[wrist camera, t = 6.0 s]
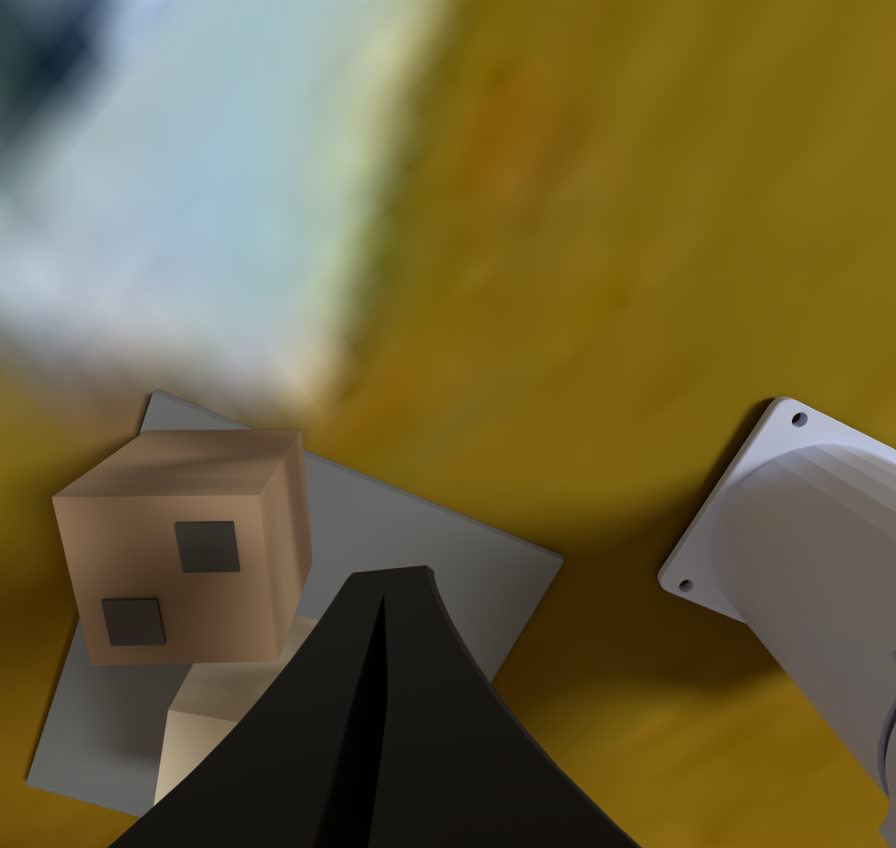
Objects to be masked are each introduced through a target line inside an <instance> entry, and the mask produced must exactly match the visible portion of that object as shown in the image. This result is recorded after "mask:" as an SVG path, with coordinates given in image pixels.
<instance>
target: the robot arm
mask: <svg viewBox="0 0 896 848" xmlns="http://www.w3.org/2000/svg"><path fill="white" fill-rule="evenodd" d="M797 413H800V415H801V416H800V418H799V420H798V421H797V422H796V423H793V424H792V419H793V416H794V415H796V414H797ZM684 580H688V583H687V584H685V585H683V586H679V585H680V583H681V582H682V581H684ZM658 581H659V583H660V585H661V586H662V588H663V589H664V590H666V591H668V592H670V593H672V594H675V595H677V596H680V597H682V598H685V599H687V600H689V601H692V602H694V603H697V604H699V605H702V606H704V607H706V608H709V609H711V610H714V611H716V612H719V613H721V614H723V615H726V616H728V617H731V618H733V619H735V620H738V621H740V622H743V623H745V624H747V625H748V626H749V627H750V628H751V630H752V631H753V632H754V633H755V635H756V636H757V637H758V638H759V640H760V641H761V642H762V643H763V645H764V646H765V647H766V648H767V650H768V651H769V652H770V653H771V654H772V656H773V657H774V658H775V659H776V661H777V662H778V663H779V664H780V666H781V667H782V668H783V669H784V671H785V672H786V673H787V674H788V676H789V677H790V678H791V679H792V680H793V682H794V683H795V684H796V685H797V687H798V688H799V689H800V690H801V692H802V693H803V694H804V695H805V697H806V698H807V699H808V700H809V702H810V703H811V704H812V705H813V706H814V708H815V709H816V710H817V711H818V713H819V714H820V715H821V716H822V718H823V719H824V720H825V721H826V723H827V724H828V725H829V726H830V728H831V729H832V730H833V731H834V732H835V734H836V735H837V736H838V737H839V739H840V740H841V741H842V742H843V744H844V745H845V746H846V747H847V749H848V750H849V751H850V752H851V754H852V755H853V756H854V757H855V758H856V760H857V761H858V762H859V763H860V765H861V766H862V767H863V768H864V770H865V771H866V772H867V773H868V775H869V776H870V777H871V778H872V780H873V781H874V782H875V783H876V784H877V786H878V787H879V788H880V789H881V791H882V792H883V793H884V794H885V796H886V797H887V798H888V799H889V801H890V806H889V810H888V813H887V816H886V818H885V820H884V822H883V823H882V825H881V827H880V829H879V833H880V834H881V835H882V837H883V838H884V839H885V841H886V842H887V843H888V845H889V846H890V847H891V848H896V450H895V449H893V448H891V447H889V446H887V445H885V444H883V443H881V442H879V441H877V440H875V439H873V438H871V437H869V436H867V435H865V434H863V433H861V432H859V431H857V430H855V429H853V428H851V427H849V426H847V425H845V424H843V423H841V422H838V421H836V420H834V419H832V418H830V417H828V416H826V415H824V414H822V413H820V412H818V411H816V410H814V409H812V408H810V407H808V406H806V405H804V404H802V403H800V402H798V401H796V400H794V399H792V398H789V397H785V396H784V397H779V398H777V399H775V400H773V401H772V402H771V404H770V405H769V406H768V408H767V409H766V411H765V412H764V414H763V415H762V417H761V418H760V420H759V421H758V423H757V424H756V426H755V427H754V429H753V430H752V432H751V433H750V435H749V436H748V438H747V439H746V441H745V442H744V444H743V445H742V447H741V448H740V450H739V451H738V453H737V454H736V456H735V457H734V459H733V460H732V462H731V463H730V465H729V467H728V468H727V470H726V471H725V473H724V474H723V476H722V477H721V479H720V480H719V482H718V483H717V485H716V486H715V488H714V489H713V491H712V492H711V494H710V495H709V497H708V498H707V500H706V501H705V503H704V504H703V506H702V507H701V509H700V510H699V512H698V513H697V515H696V516H695V518H694V519H693V521H692V522H691V524H690V525H689V527H688V528H687V530H686V532H685V533H684V535H683V536H682V538H681V539H680V541H679V542H678V544H677V545H676V547H675V548H674V550H673V551H672V553H671V554H670V556H669V557H668V559H667V560H666V562H665V563H664V565H663V566H662V568H661V569H660V571H659V573H658ZM108 848H642V847H641V846H639V845H638V844H637V843H636V842H635V841H634V840H633V839H632V838H631V837H629V836H628V835H627V834H626V833H625V832H624V831H623V830H622V829H620V828H619V827H618V826H617V825H616V824H615V823H614V822H613V821H612V820H611V819H610V818H609V817H608V816H607V815H606V814H605V813H604V812H603V811H602V810H601V809H600V808H599V807H598V806H597V805H596V804H595V803H594V802H593V801H592V800H591V799H590V798H589V797H588V796H587V795H586V794H585V793H584V792H583V791H582V790H581V789H580V788H579V787H578V786H577V785H576V784H575V783H574V782H573V781H572V780H571V779H570V778H569V777H568V776H567V775H566V774H565V773H564V772H563V771H562V770H561V769H560V768H559V767H558V766H557V765H556V763H555V762H554V761H553V760H552V759H551V758H550V757H549V756H548V754H547V753H546V752H545V751H544V750H543V749H542V748H541V746H540V745H539V744H538V743H537V742H536V741H535V740H534V739H533V737H532V736H531V735H530V734H529V733H528V731H527V730H526V729H525V728H524V727H523V725H522V724H521V723H520V722H519V720H518V719H517V718H516V717H515V716H514V714H513V713H512V712H511V710H510V709H509V708H508V707H507V705H506V704H505V703H504V701H503V700H502V699H501V697H500V696H499V695H498V693H497V692H496V690H495V689H494V688H493V686H492V685H491V683H490V682H489V680H488V679H487V677H486V676H485V675H484V673H483V672H482V670H481V669H480V667H479V666H478V664H477V663H476V661H475V659H474V658H473V656H472V655H471V653H470V652H469V650H468V648H467V646H466V645H465V643H464V641H463V639H462V638H461V636H460V634H459V632H458V631H457V629H456V627H455V625H454V624H453V622H452V620H451V618H450V616H449V614H448V612H447V609H446V607H445V605H444V603H443V601H442V598H441V596H440V593H439V591H438V588H437V585H436V581H435V577H434V570H432V569H431V568H430V567H428V566H427V565H422V566H412V567H402V568H392V569H383V570H373V571H363V572H354V573H352V574H351V575H350V576H349V577H348V578H347V579H346V581H345V582H344V584H343V585H342V587H341V589H340V590H339V592H338V593H337V595H336V596H335V598H334V599H333V601H332V602H331V604H330V605H329V607H328V608H327V610H326V611H325V613H324V614H323V616H322V617H321V619H320V620H319V621H318V623H317V624H316V626H315V627H314V629H313V630H312V631H311V633H310V634H309V635H308V637H307V638H306V640H305V641H304V642H303V644H302V645H301V646H300V648H299V649H298V650H297V652H296V653H295V654H294V656H293V657H292V659H291V660H290V661H289V662H288V664H287V665H286V666H285V668H284V669H283V670H282V671H281V673H280V674H279V675H278V676H277V677H276V679H275V680H274V681H273V682H272V683H271V685H270V686H269V687H268V688H267V690H266V691H265V692H264V693H263V694H262V696H261V697H260V698H259V699H258V701H257V702H256V703H255V704H254V705H253V707H252V708H251V709H250V710H249V711H248V712H247V713H246V715H245V716H244V717H243V718H242V719H241V720H240V721H239V722H238V724H237V725H236V726H235V727H234V728H233V729H232V730H231V731H230V732H229V733H228V735H227V736H226V737H225V738H224V739H223V740H222V741H221V742H220V743H219V744H218V745H217V746H216V747H215V748H214V749H213V750H212V751H211V752H210V753H209V754H208V755H207V757H206V758H205V759H204V760H203V761H202V762H201V763H200V764H199V765H198V766H197V767H196V768H195V769H194V770H193V771H192V772H191V773H190V774H189V775H188V776H186V777H185V778H184V779H183V780H182V781H181V782H180V783H179V784H178V785H177V786H176V787H174V788H173V789H172V790H171V791H170V792H169V793H168V794H167V795H166V796H164V797H163V798H162V799H161V800H160V801H159V802H158V803H157V804H156V805H155V806H153V807H152V808H151V809H150V810H149V811H148V812H147V813H146V814H145V815H143V816H142V817H141V818H140V819H139V820H138V821H137V822H136V823H135V824H134V825H132V826H131V827H130V828H129V829H128V830H127V831H126V832H125V833H124V834H123V835H121V836H120V837H119V838H118V839H117V840H116V841H115V842H113V843H112V844H111V845H110V846H109V847H108Z"/></svg>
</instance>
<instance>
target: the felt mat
mask: <svg viewBox="0 0 896 848" xmlns="http://www.w3.org/2000/svg"><path fill="white" fill-rule="evenodd" d="M231 429H253V428H250V427H248V426H245V425H243V424H241V423H238V422H236V421H233V420H231V419H228V418H226V417H223V416H221V415H219V414H216V413H214V412H211V411H209V410H206V409H204V408H202V407H199V406H197V405H194V404H192V403H189V402H187V401H184V400H182V399H180V398H177V397H175V396H172V395H170V394H167V393H165V392H162V391H160V390H157V391H155V392H154V393H153V394H152V397H151V400H150V403H149V406H148V409H147V412H146V415H145V418H144V421H143V425H142V428H141V431H140V434H139V435H141V434H142V433H143V432H145V431H146V430H231ZM304 462H305V474H306V486H307V498H308V511H309V523H310V535H311V547H312V560H313V563H312V566H311V569H310V572H309V574H308V577H307V580H306V583H305V586H304V589H303V591H302V594H301V597H300V600H299V603H298V606H297V609H296V611H295V614H294V615H297V616H302V617H307V618H312V619H316V620H320V619H321V617H322V616H323V614H324V613H325V611H326V610H327V608H328V607H329V605H330V604H331V602H332V601H333V599H334V598H335V596H336V595H337V593H338V592H339V590H340V589H341V587H342V585H343V584H344V582H345V581H346V579H347V578H348V577H349V576H350V575H351V574H352V573H354V572H363V571H373V570H383V569H392V568H402V567H412V566H422V565H427V566H428V567H430V568H431V569H432V570H434V577H435V581H436V585H437V588H438V591H439V593H440V596H441V598H442V601H443V603H444V605H445V607H446V609H447V612H448V614H449V616H450V618H451V620H452V622H453V624H454V625H455V627H456V629H457V631H458V632H459V634H460V636H461V638H462V639H463V641H464V643H465V645H466V646H467V648H468V650H469V652H470V653H471V655H472V656H473V658H474V659H475V661H476V663H477V664H478V666H479V667H480V669H481V670H482V672H483V673H484V675H485V676H486V677H487V679H488V680H489V682H490V683H491V682H492V680H493V678H494V677H495V675H496V673H497V672H498V670H499V668H500V667H501V665H502V663H503V662H504V660H505V658H506V657H507V655H508V653H509V652H510V650H511V648H512V647H513V645H514V643H515V642H516V640H517V638H518V637H519V635H520V633H521V632H522V630H523V628H524V627H525V625H526V624H527V622H528V620H529V619H530V617H531V615H532V614H533V612H534V610H535V609H536V607H537V605H538V604H539V602H540V600H541V599H542V597H543V595H544V594H545V592H546V590H547V589H548V587H549V585H550V584H551V582H552V580H553V579H554V577H555V575H556V574H557V572H558V570H559V569H560V567H561V565H562V564H563V562H564V560H563V557H562V555H560V554H558V553H555V552H553V551H550V550H548V549H546V548H543V547H541V546H538V545H536V544H533V543H531V542H529V541H526V540H524V539H521V538H519V537H516V536H514V535H511V534H509V533H507V532H504V531H502V530H499V529H497V528H494V527H492V526H489V525H487V524H485V523H482V522H480V521H477V520H475V519H472V518H470V517H468V516H465V515H463V514H460V513H458V512H455V511H453V510H450V509H448V508H446V507H443V506H441V505H438V504H436V503H433V502H431V501H428V500H426V499H424V498H421V497H419V496H416V495H414V494H411V493H409V492H407V491H404V490H402V489H399V488H397V487H394V486H392V485H389V484H387V483H385V482H382V481H380V480H377V479H375V478H372V477H370V476H367V475H365V474H363V473H360V472H358V471H355V470H353V469H350V468H348V467H345V466H343V465H341V464H338V463H336V462H333V461H331V460H328V459H326V458H324V457H321V456H319V455H316V454H314V453H311V452H309V451H306V450H304ZM193 664H194V663H189V664H138V665H91V662H90V658H89V654H88V649H87V645H86V641H85V637H84V633H83V628H82V624H81V620H80V618H79V622H78V625H77V628H76V631H75V634H74V637H73V640H72V643H71V646H70V649H69V652H68V655H67V659H66V662H65V665H64V668H63V671H62V674H61V677H60V680H59V683H58V686H57V689H56V692H55V695H54V699H53V702H52V705H51V708H50V711H49V714H48V717H47V720H46V723H45V726H44V729H43V732H42V735H41V739H40V742H39V745H38V748H37V751H36V754H35V757H34V760H33V763H32V766H31V769H30V772H29V776H28V779H27V782H26V785H29V786H32V787H36V788H39V789H42V790H46V791H49V792H53V793H56V794H60V795H63V796H67V797H70V798H74V799H77V800H81V801H84V802H88V803H91V804H95V805H98V806H102V807H105V808H108V809H112V810H115V811H119V812H122V813H126V814H129V815H133V816H136V817H140V818H141V817H142V816H143V815H145V814H146V813H147V812H148V811H149V810H150V809H151V808H152V807H153V806H154V801H155V794H156V787H157V781H158V774H159V768H160V761H161V755H162V748H163V741H164V735H165V728H166V722H167V715H168V709H169V708H170V706H171V704H172V702H173V700H174V698H175V697H176V695H177V693H178V691H179V689H180V687H181V686H182V684H183V682H184V680H185V678H186V676H187V675H188V673H189V671H190V669H191V667H192V665H193Z"/></svg>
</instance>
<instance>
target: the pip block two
mask: <svg viewBox="0 0 896 848" xmlns="http://www.w3.org/2000/svg"><path fill="white" fill-rule="evenodd" d="M52 501H53V505H54V509H55V514H56V518H57V522H58V526H59V531H60V535H61V539H62V543H63V548H64V552H65V556H66V560H67V565H68V569H69V573H70V577H71V582H72V586H73V590H74V594H75V599H76V603H77V607H78V611H79V616H80V620H81V624H82V628H83V633H84V637H85V641H86V645H87V649H88V654H89V658H90V662H91V665H138V664H189V663H241V662H278V660H279V657H280V654H281V651H282V648H283V646H284V643H285V640H286V637H287V634H288V631H289V628H290V626H291V623H292V620H293V617H294V614H295V611H296V609H297V606H298V603H299V600H300V597H301V594H302V591H303V589H304V586H305V583H306V580H307V577H308V574H309V572H310V569H311V566H312V563H313V560H312V547H311V535H310V523H309V511H308V498H307V486H306V474H305V462H304V449H303V437H302V429H231V430H146V431H145V432H143V433H142V434H141V435H139V436H138V437H136V438H135V439H134V440H132V441H131V442H129V443H128V444H126V445H125V446H124V447H122V448H121V449H119V450H118V451H117V452H115V453H114V454H112V455H111V456H109V457H108V458H107V459H105V460H104V461H102V462H101V463H100V464H98V465H97V466H95V467H94V468H92V469H91V470H90V471H88V472H87V473H85V474H84V475H83V476H81V477H80V478H78V479H77V480H75V481H74V482H73V483H71V484H70V485H68V486H67V487H66V488H64V489H63V490H61V491H60V492H58V493H57V494H56V495H54V496H53V497H52Z"/></svg>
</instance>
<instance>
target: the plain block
mask: <svg viewBox="0 0 896 848" xmlns="http://www.w3.org/2000/svg"><path fill="white" fill-rule="evenodd" d="M318 621H319V620H316V619H312V618H307V617H302V616H297V615H294V617H293V620H292V623H291V626H290V628H289V631H288V634H287V637H286V640H285V643H284V646H283V648H282V651H281V654H280V657H279V660H278V662H241V663H194V664H193V665H192V667H191V669H190V671H189V673H188V675H187V676H186V678H185V680H184V682H183V684H182V686H181V687H180V689H179V691H178V693H177V695H176V697H175V698H174V700H173V702H172V704H171V706H170V708H169V709H168V715H167V722H166V728H165V735H164V741H163V748H162V755H161V761H160V768H159V774H158V781H157V787H156V794H155V801H154V806H155V805H156V804H157V803H158V802H159V801H160V800H161V799H162V798H163V797H164V796H166V795H167V794H168V793H169V792H170V791H171V790H172V789H173V788H174V787H176V786H177V785H178V784H179V783H180V782H181V781H182V780H183V779H184V778H185V777H186V776H188V775H189V774H190V773H191V772H192V771H193V770H194V769H195V768H196V767H197V766H198V765H199V764H200V763H201V762H202V761H203V760H204V759H205V758H206V757H207V755H208V754H209V753H210V752H211V751H212V750H213V749H214V748H215V747H216V746H217V745H218V744H219V743H220V742H221V741H222V740H223V739H224V738H225V737H226V736H227V735H228V733H229V732H230V731H231V730H232V729H233V728H234V727H235V726H236V725H237V724H238V722H239V721H240V720H241V719H242V718H243V717H244V716H245V715H246V713H247V712H248V711H249V710H250V709H251V708H252V707H253V705H254V704H255V703H256V702H257V701H258V699H259V698H260V697H261V696H262V694H263V693H264V692H265V691H266V690H267V688H268V687H269V686H270V685H271V683H272V682H273V681H274V680H275V679H276V677H277V676H278V675H279V674H280V673H281V671H282V670H283V669H284V668H285V666H286V665H287V664H288V662H289V661H290V660H291V659H292V657H293V656H294V654H295V653H296V652H297V650H298V649H299V648H300V646H301V645H302V644H303V642H304V641H305V640H306V638H307V637H308V635H309V634H310V633H311V631H312V630H313V629H314V627H315V626H316V624H317V623H318Z"/></svg>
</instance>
